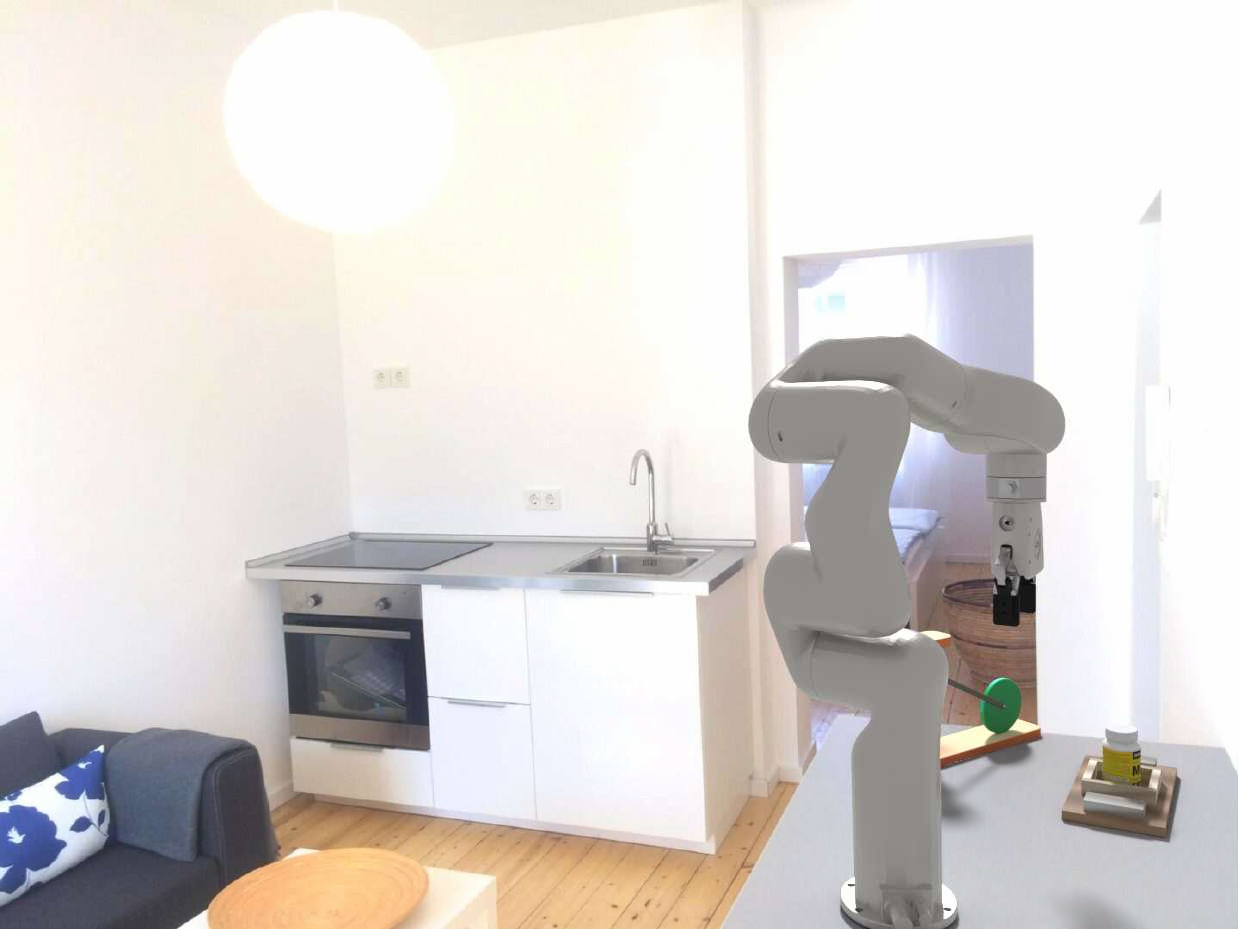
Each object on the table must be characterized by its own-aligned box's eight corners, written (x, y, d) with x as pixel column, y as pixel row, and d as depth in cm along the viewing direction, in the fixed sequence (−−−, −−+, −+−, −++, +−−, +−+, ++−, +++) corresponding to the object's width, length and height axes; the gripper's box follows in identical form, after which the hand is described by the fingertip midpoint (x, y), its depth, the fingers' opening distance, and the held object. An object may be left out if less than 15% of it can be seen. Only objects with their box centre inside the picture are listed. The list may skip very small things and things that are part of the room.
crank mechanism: (932, 770, 154) (930, 643, 152) (900, 757, 160) (897, 634, 158) (1045, 735, 166) (1044, 618, 164) (1011, 724, 172) (1010, 610, 170)
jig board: (1164, 837, 129) (1164, 812, 129) (1061, 819, 136) (1061, 795, 135) (1177, 776, 148) (1177, 754, 148) (1085, 762, 154) (1085, 741, 154)
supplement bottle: (1139, 797, 138) (1138, 736, 138) (1100, 791, 141) (1100, 731, 140) (1142, 784, 142) (1142, 725, 142) (1104, 778, 145) (1104, 720, 144)
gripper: (1031, 496, 127) (1030, 634, 128) (1058, 486, 141) (1057, 610, 142) (969, 494, 131) (968, 627, 132) (1001, 484, 146) (1001, 605, 146)
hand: (1014, 618), depth 137 cm, fingers open, 9 cm apart
